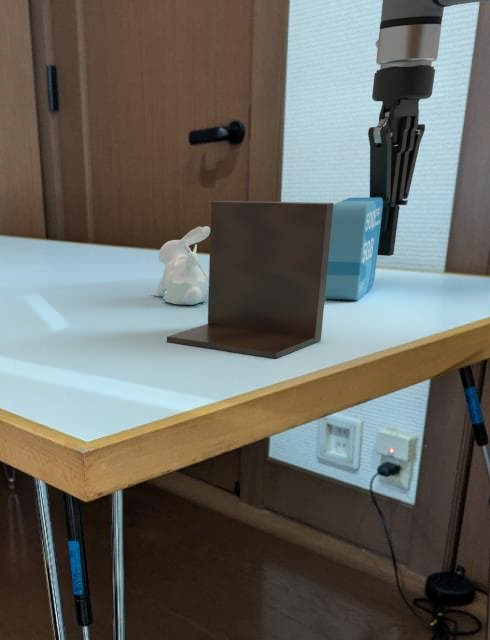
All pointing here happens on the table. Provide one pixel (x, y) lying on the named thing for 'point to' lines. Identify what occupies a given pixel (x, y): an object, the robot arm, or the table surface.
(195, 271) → the rabbit figurine
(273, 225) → the bookend
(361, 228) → the data package
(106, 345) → the table surface
